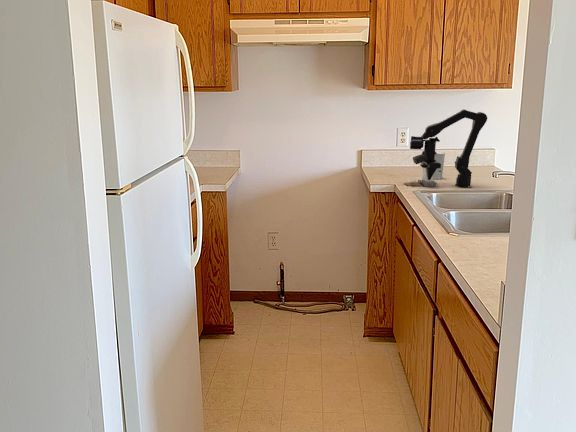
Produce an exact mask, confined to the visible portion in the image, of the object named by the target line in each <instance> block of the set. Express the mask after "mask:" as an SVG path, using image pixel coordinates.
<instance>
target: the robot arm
mask: <svg viewBox="0 0 576 432" xmlns="http://www.w3.org/2000/svg"><path fill="white" fill-rule="evenodd" d="M462 119H469V120H471V121H472V125H471V129H470V131H469V134H468V138H467V140H466V142H465V146H464V148H463V150H462V153H461V154H460V156H459V155H457V157H456V159H455V161H454V168H455V170H456V171H457V173H458V174H457V176H456V177H455V178H456V179H455V180H456V181H455V184H454V185H455V186H456V187H459V188H469V187H468V186H471V182H472V175H473V173H472V171H471V170H470V169H469V163H470V158H471V157H470V156H471V154H472V152H473V148H474V146H475V144H476V142H477V139H478V136H479V134H480V131H481V130H482V129H483V127H484V126H485V124H486V123H487V122H488V116H487V114H486V113H485V112H482V111H478V112H473V111H471V110H467V109H464V108H463V109H461V110H460V111H458V112H457V113H455V114H452V115H451V116H448V117H447V118H446V119H443V120H442V121H439V122H437V123H433V124H430V125H427V126H426V127H425V130H424V132H423V133H422V135H421V136H414V135H412V136H410V142H409V149H410V150H422V149H423V150H422V152H421V154H418V155H416V156H413V157H412V161H413V164H414V165H419V166H420V167H421V168H422V169H423V167H425V168H426V169H427V171H428V180H430V179H431V177H432V176H433V174H434V172H435V171H436V169H438V168H441V164H440V163H439V162H436V160H435V154H436V153H437V152H438V151H436V146H437V142H438V143H439V142H440V141H441V140H440V139H439V138H438V135H439V134H440V133H441V132H443V130H445V129H447V128H448V127H450V126H453V124H456V123H457V122H460V121H461V120H462Z"/></svg>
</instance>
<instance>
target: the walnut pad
mask: <svg viewBox="0 0 576 432" xmlns="http://www.w3.org/2000/svg"><path fill="white" fill-rule="evenodd" d="M403 184H404V185H405V186H407V187H409V186H412V187H423V186H422V185H421V184H419V183H418V181H413V182H412V181H411V182H408V181H407V182H404V183H403Z"/></svg>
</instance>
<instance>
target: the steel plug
mask: <svg viewBox="0 0 576 432" xmlns="http://www.w3.org/2000/svg"><path fill="white" fill-rule="evenodd" d="M421 180H422V181H423V182H432V181H434V179H433V176H432V177H431V179H430V180H428V171H427V169H426V168H425V167H423V168H422V179H421Z"/></svg>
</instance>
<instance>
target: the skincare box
mask: <svg viewBox="0 0 576 432" xmlns="http://www.w3.org/2000/svg"><path fill="white" fill-rule="evenodd" d="M436 152H437V153H436V154H435V160H436V162H439V163H440V164H441V168H438V169H436V171H435V172H434V174H433V180H442V179H443V173H444V165H445V157H446V153H445V152H439V151H436Z"/></svg>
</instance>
